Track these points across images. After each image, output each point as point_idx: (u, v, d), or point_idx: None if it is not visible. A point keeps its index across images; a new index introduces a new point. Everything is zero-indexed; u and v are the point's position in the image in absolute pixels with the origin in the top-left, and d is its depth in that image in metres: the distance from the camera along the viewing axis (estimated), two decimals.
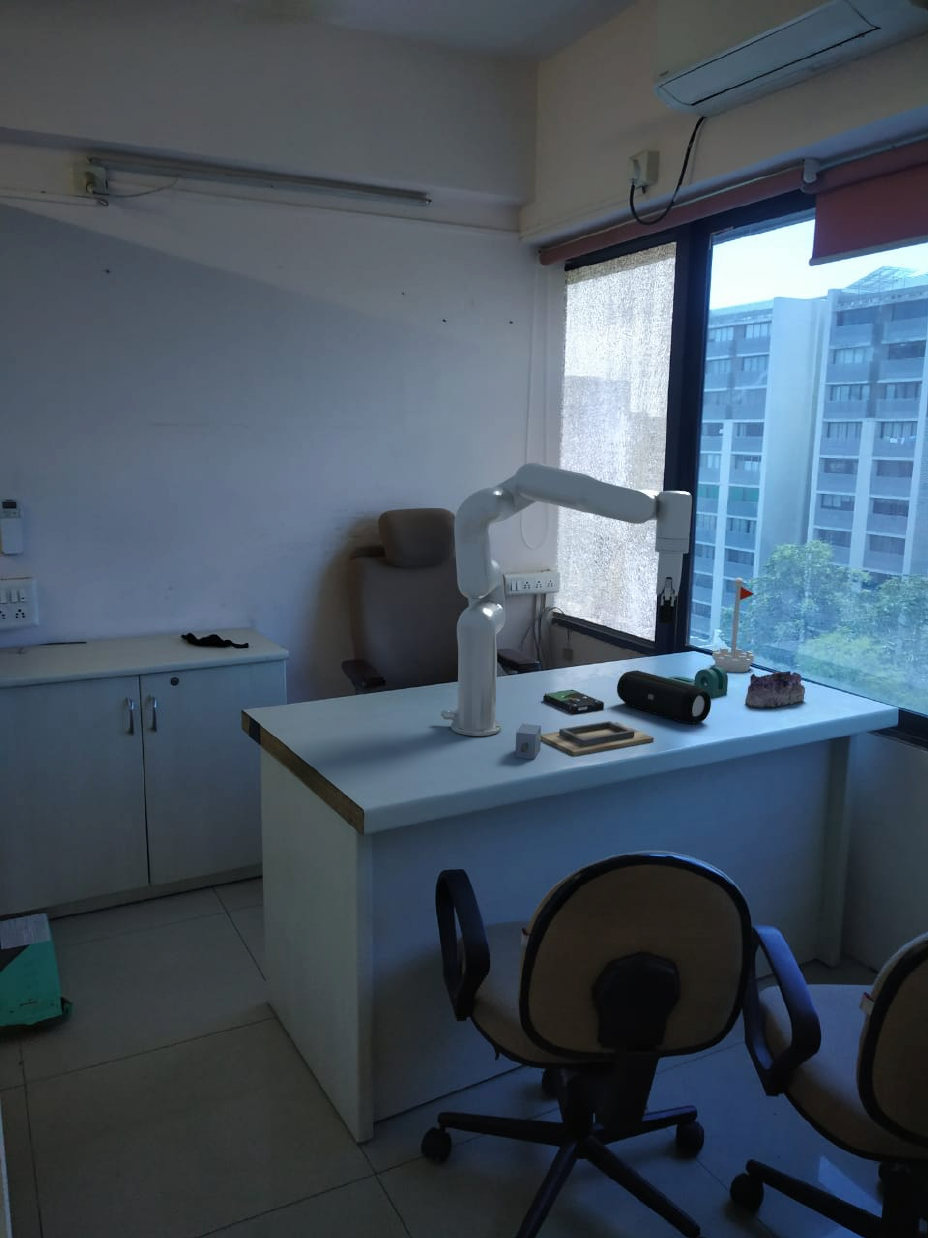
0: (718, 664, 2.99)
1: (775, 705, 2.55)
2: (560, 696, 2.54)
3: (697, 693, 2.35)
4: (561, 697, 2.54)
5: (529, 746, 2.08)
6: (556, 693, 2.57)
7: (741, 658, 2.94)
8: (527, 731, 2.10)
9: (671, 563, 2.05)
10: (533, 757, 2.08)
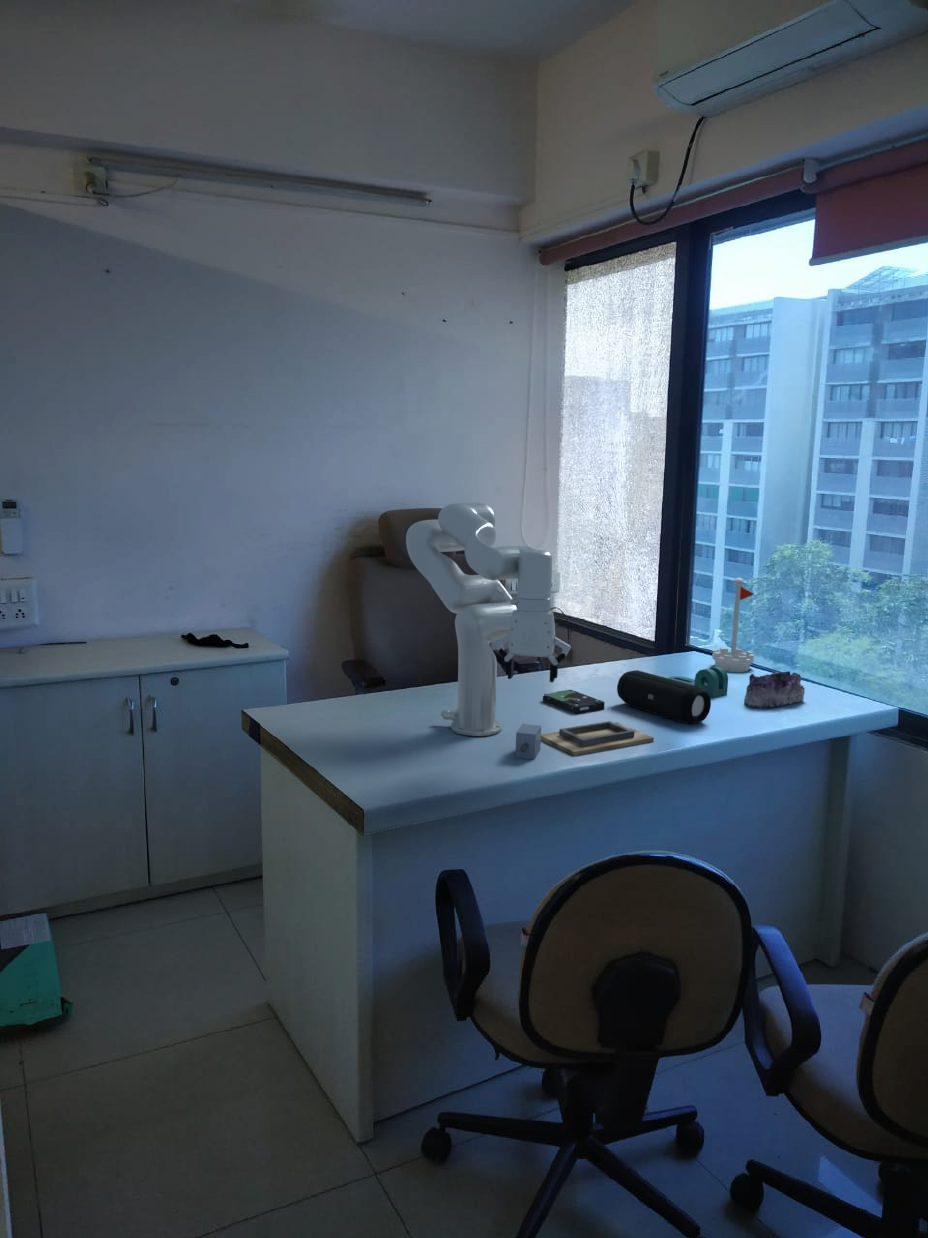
0: (718, 664, 2.99)
1: (774, 705, 2.55)
2: (560, 696, 2.54)
3: (697, 693, 2.35)
4: (561, 697, 2.53)
5: (529, 746, 2.08)
6: (555, 693, 2.57)
7: (741, 658, 2.94)
8: (527, 731, 2.10)
9: None
10: (533, 757, 2.08)
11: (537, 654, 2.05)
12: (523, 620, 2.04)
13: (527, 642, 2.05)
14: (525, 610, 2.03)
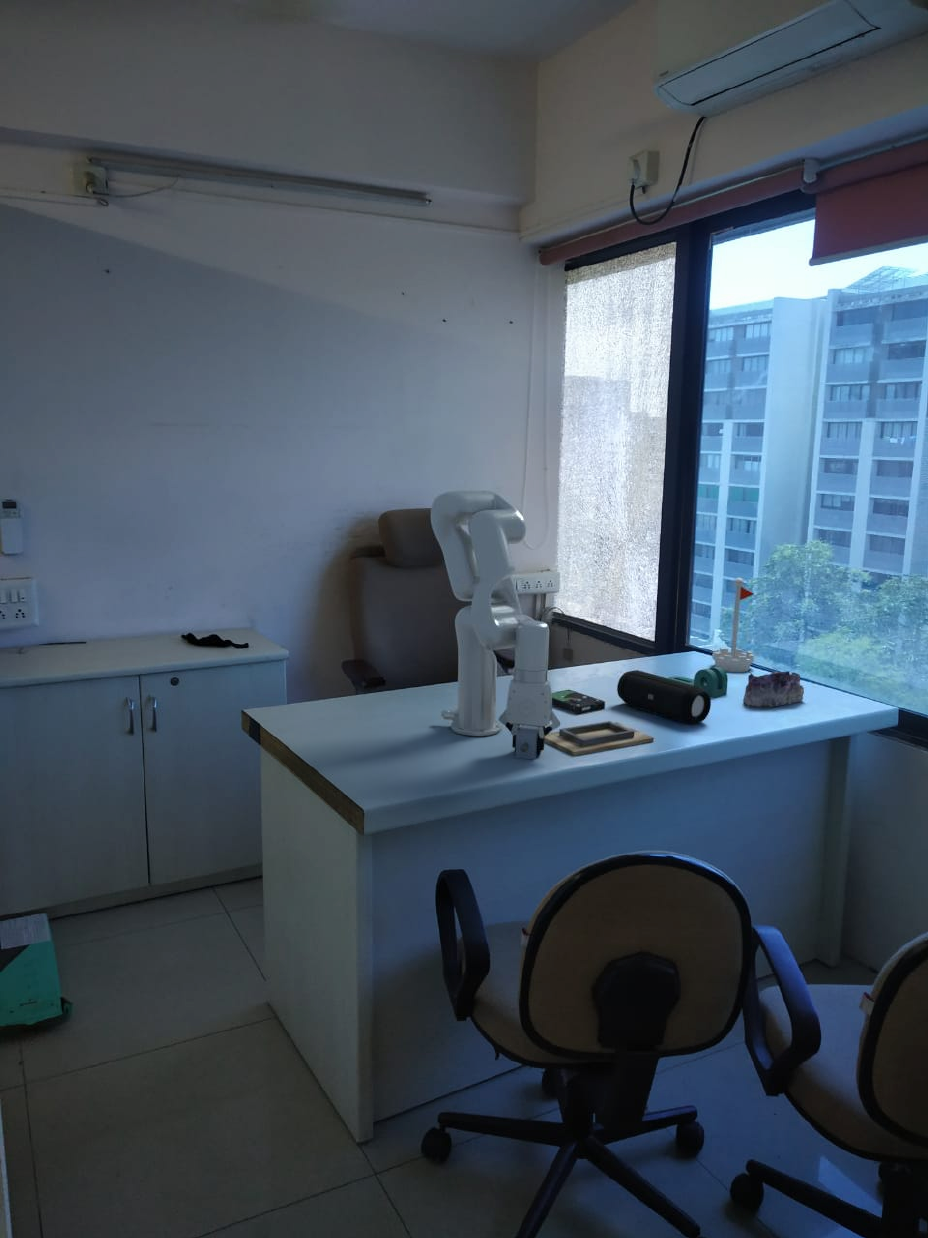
0: (718, 664, 2.99)
1: (773, 705, 2.55)
2: (560, 696, 2.54)
3: (697, 693, 2.35)
4: (561, 697, 2.53)
5: (529, 746, 2.08)
6: (555, 693, 2.56)
7: (741, 658, 2.94)
8: (527, 731, 2.10)
9: None
10: (533, 757, 2.08)
11: (534, 724, 2.08)
12: (520, 690, 2.07)
13: (524, 712, 2.08)
14: (522, 681, 2.06)
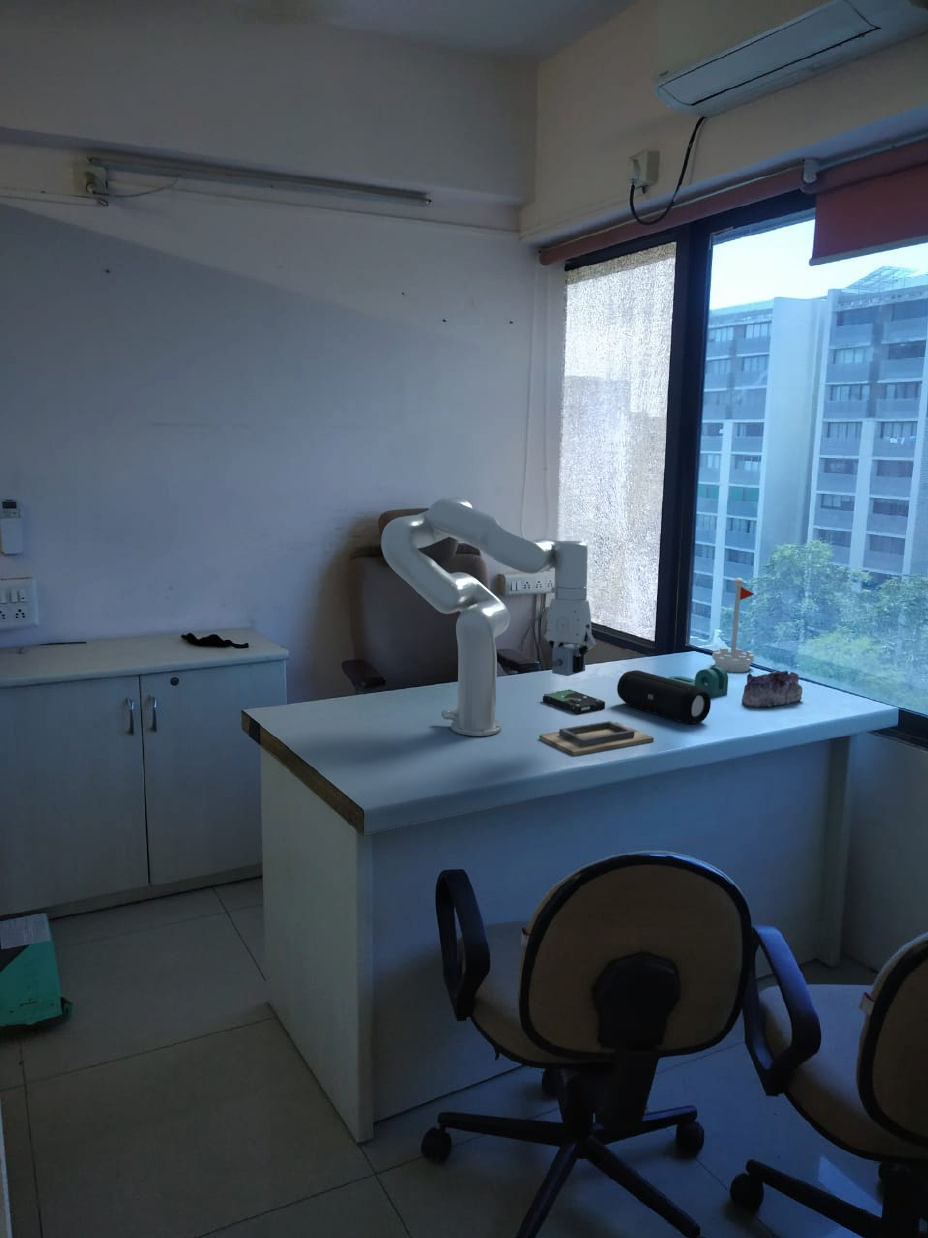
0: (718, 664, 2.99)
1: (771, 705, 2.55)
2: (560, 696, 2.54)
3: (696, 693, 2.35)
4: (561, 697, 2.53)
5: (563, 662, 2.14)
6: (555, 693, 2.57)
7: (741, 658, 2.94)
8: (564, 648, 2.15)
9: (587, 611, 2.12)
10: (566, 673, 2.13)
11: (568, 641, 2.13)
12: (557, 607, 2.14)
13: (560, 629, 2.14)
14: (557, 598, 2.12)
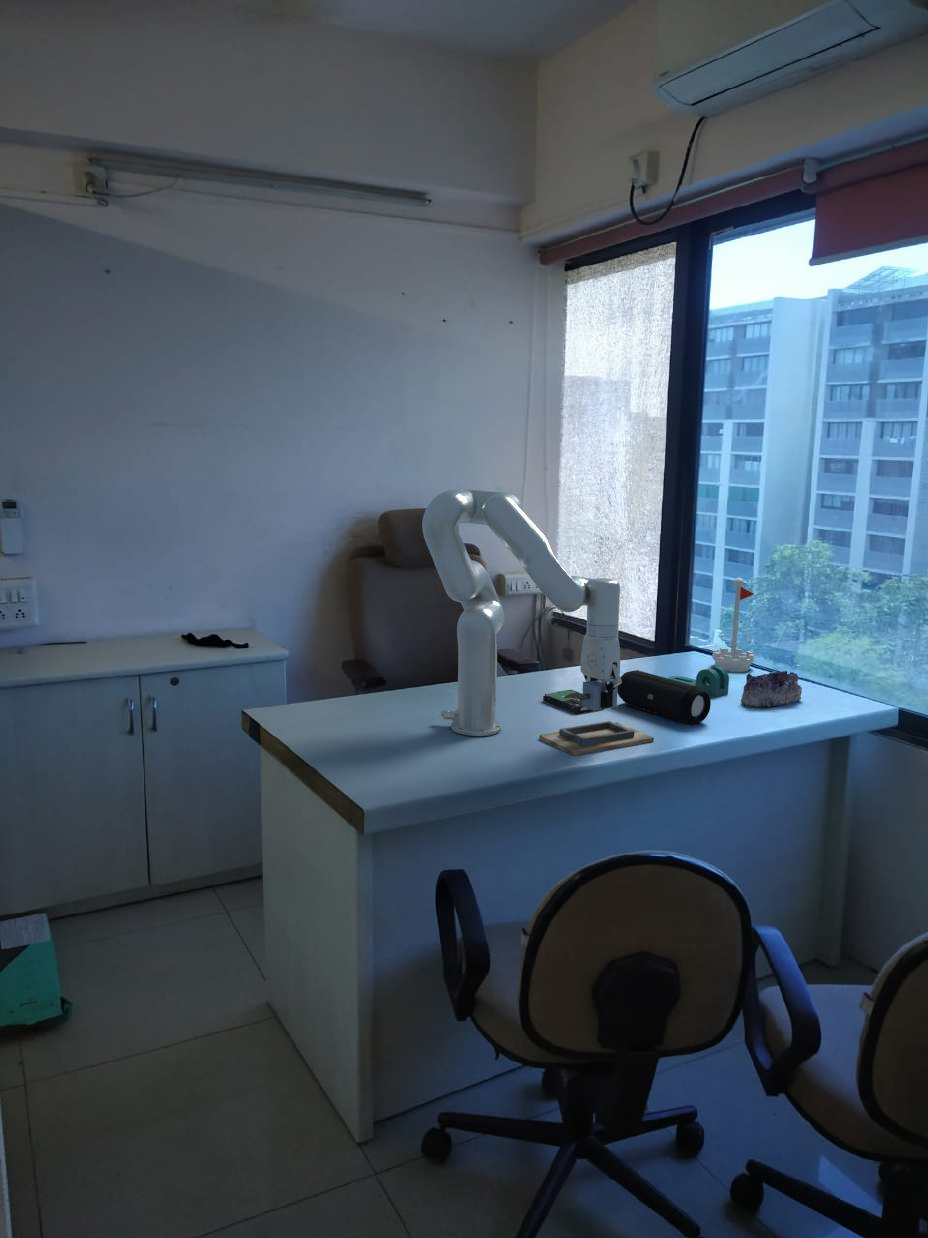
0: (718, 664, 2.99)
1: (771, 704, 2.55)
2: (561, 696, 2.54)
3: (696, 693, 2.35)
4: (561, 697, 2.53)
5: (590, 697, 2.18)
6: (556, 693, 2.57)
7: (741, 658, 2.94)
8: (594, 683, 2.19)
9: (615, 649, 2.15)
10: (592, 708, 2.18)
11: (595, 676, 2.17)
12: (588, 643, 2.19)
13: (590, 664, 2.19)
14: (587, 634, 2.17)
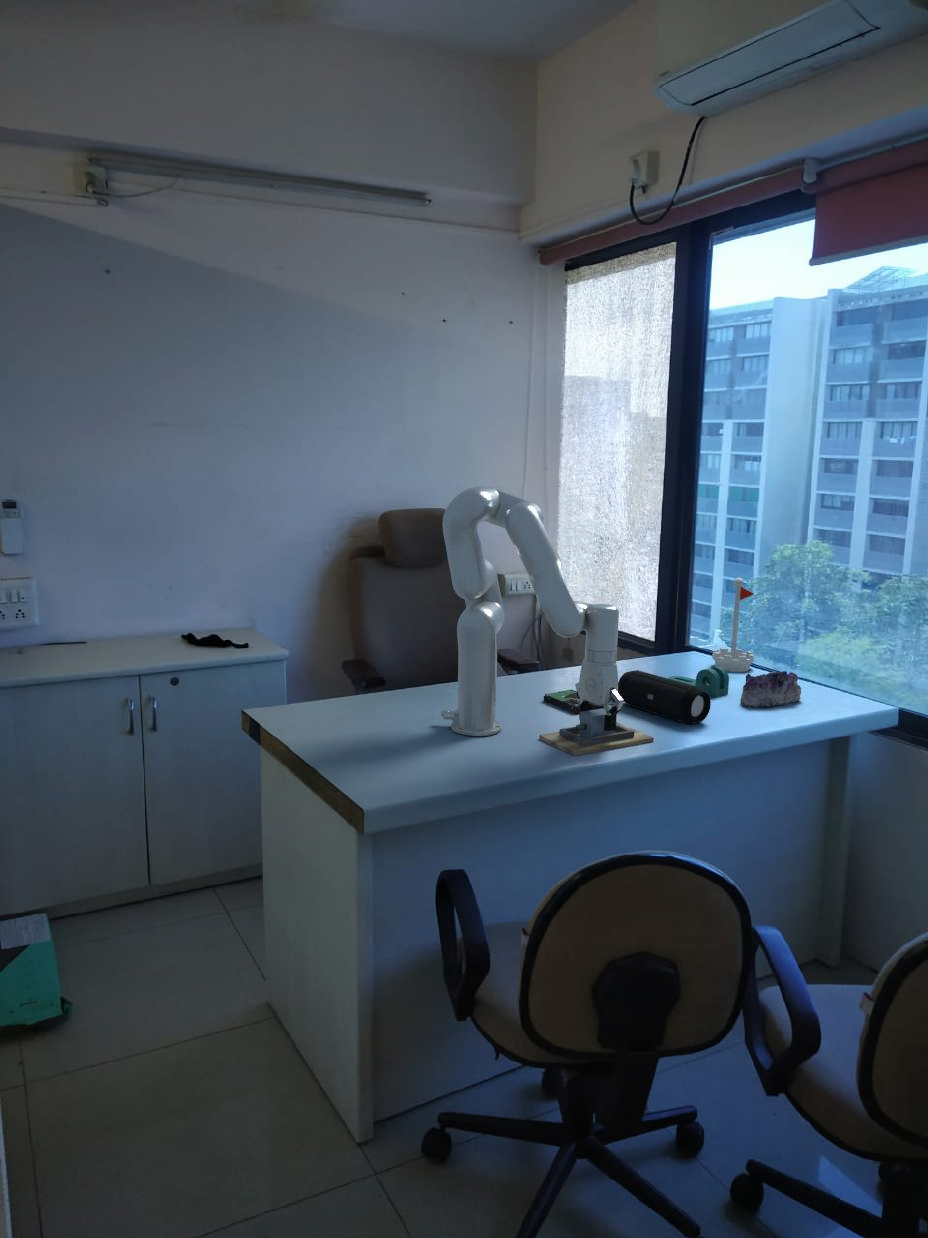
0: (718, 664, 2.99)
1: (770, 705, 2.55)
2: (561, 696, 2.54)
3: (696, 693, 2.35)
4: (562, 697, 2.53)
5: (587, 727, 2.20)
6: (556, 693, 2.57)
7: (741, 658, 2.94)
8: (591, 713, 2.21)
9: (613, 674, 2.16)
10: None
11: (593, 702, 2.18)
12: (586, 668, 2.20)
13: (588, 689, 2.20)
14: (585, 659, 2.19)
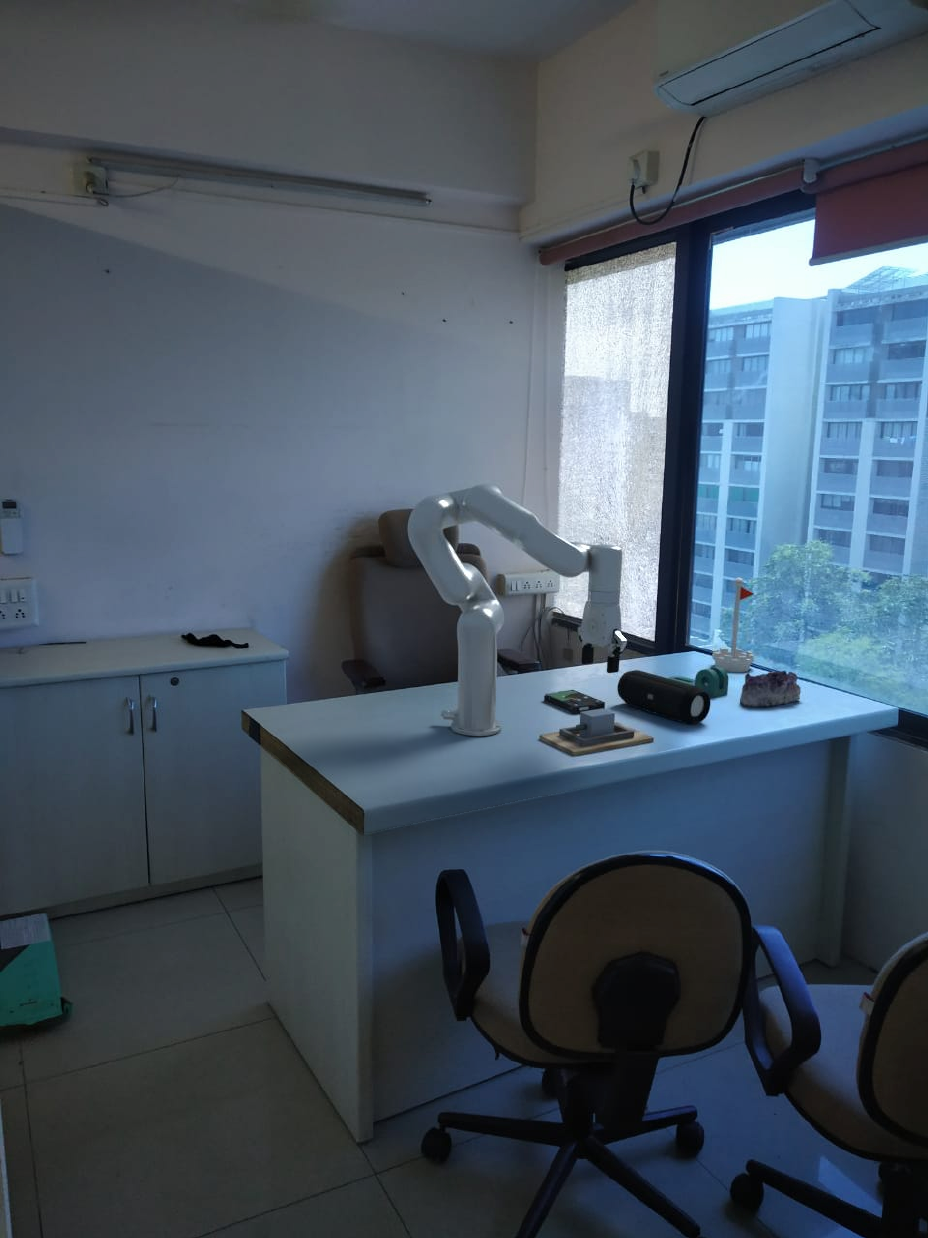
0: (718, 664, 2.99)
1: (769, 704, 2.55)
2: (561, 696, 2.54)
3: (696, 693, 2.35)
4: (562, 697, 2.53)
5: (587, 727, 2.20)
6: (557, 693, 2.57)
7: (741, 658, 2.94)
8: (591, 713, 2.21)
9: (616, 615, 2.13)
10: None
11: (596, 643, 2.16)
12: (589, 609, 2.17)
13: (590, 631, 2.17)
14: (588, 600, 2.16)
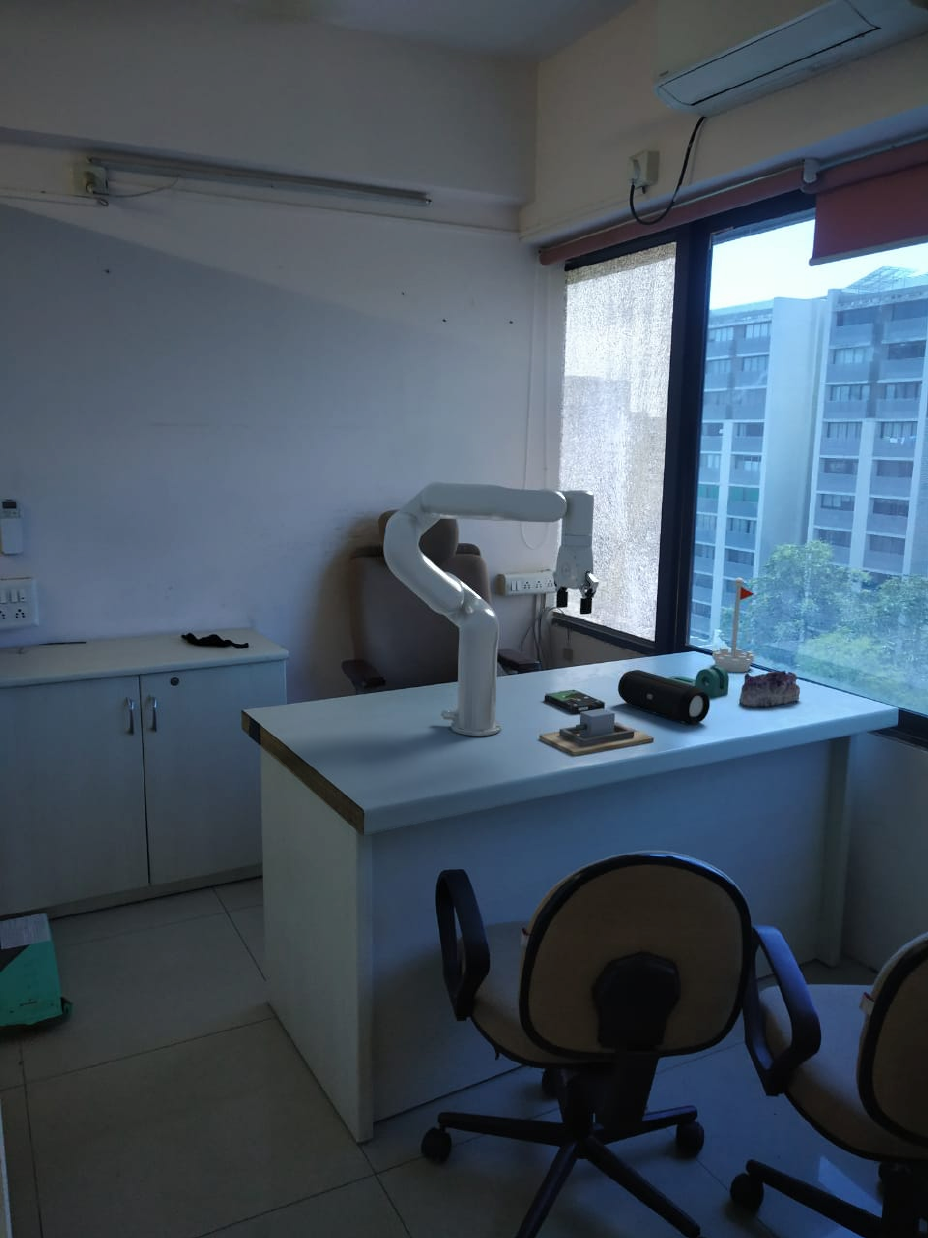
0: (718, 664, 2.99)
1: (769, 705, 2.55)
2: (561, 696, 2.54)
3: (695, 693, 2.35)
4: (562, 697, 2.54)
5: (587, 727, 2.20)
6: (557, 693, 2.57)
7: (741, 658, 2.94)
8: (591, 713, 2.21)
9: (588, 558, 2.20)
10: None
11: (569, 586, 2.22)
12: (562, 553, 2.24)
13: (564, 574, 2.24)
14: (561, 544, 2.22)
